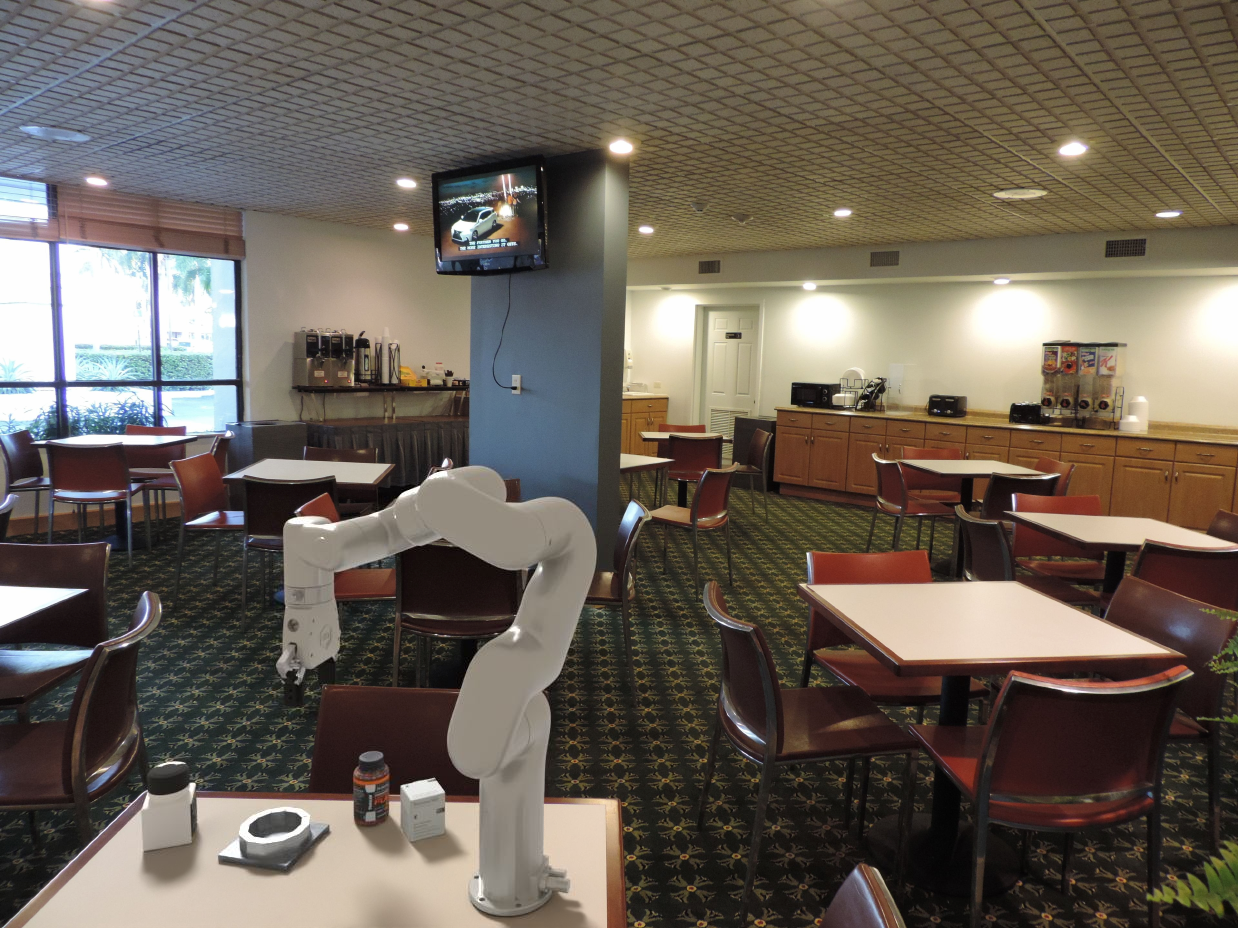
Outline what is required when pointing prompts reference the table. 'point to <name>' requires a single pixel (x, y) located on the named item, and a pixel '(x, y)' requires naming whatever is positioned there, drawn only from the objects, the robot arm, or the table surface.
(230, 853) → the ring plate
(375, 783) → the supplement bottle
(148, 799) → the medicine bottle
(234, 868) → the table surface
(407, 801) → the skincare box
